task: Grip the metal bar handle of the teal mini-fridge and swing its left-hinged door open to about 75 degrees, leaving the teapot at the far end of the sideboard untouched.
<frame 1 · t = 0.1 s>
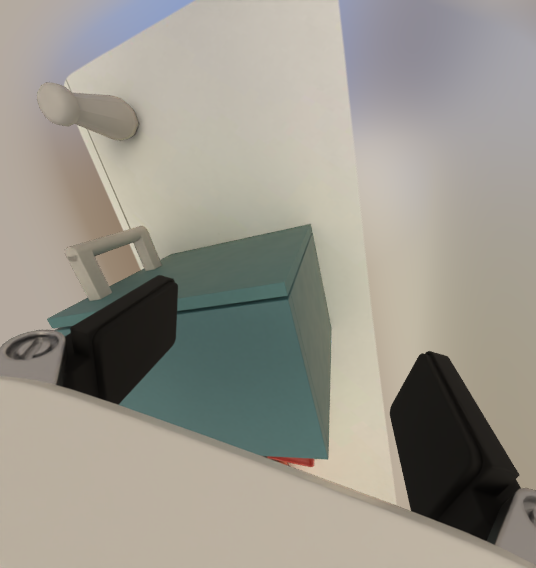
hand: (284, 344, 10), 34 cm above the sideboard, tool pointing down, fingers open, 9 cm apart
salt shaker: (127, 121, 42), on the sideboard
plant saucer: (276, 419, 61), on the sideboard
fridge door: (197, 243, 34), point 12 cm above the sideboard, hinge at 0.0°
fridge: (251, 294, 49), on the sideboard
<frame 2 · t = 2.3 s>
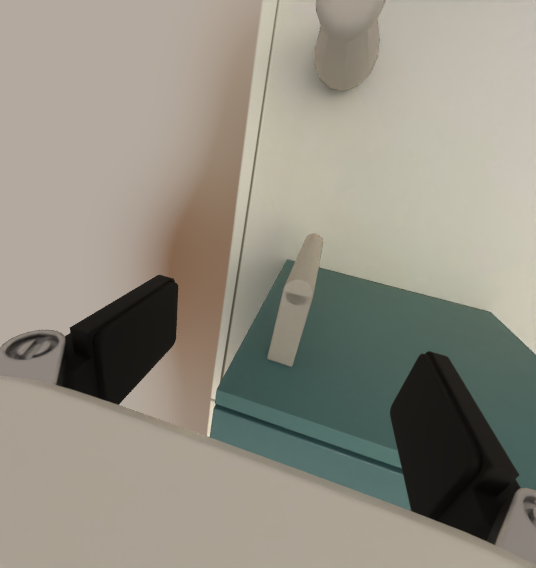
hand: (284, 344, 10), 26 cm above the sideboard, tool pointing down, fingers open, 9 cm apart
salt shaker: (345, 62, 27), on the sideboard
fridge door: (417, 312, 23), point 12 cm above the sideboard, hinge at 0.0°
fridge: (357, 345, 40), on the sideboard
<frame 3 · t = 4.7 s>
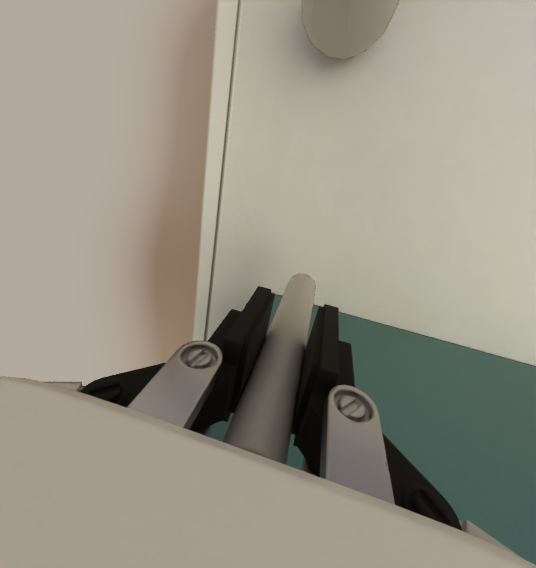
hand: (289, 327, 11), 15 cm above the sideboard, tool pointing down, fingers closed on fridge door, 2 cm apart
salt shaker: (347, 19, 18), on the sideboard
fridge door: (467, 410, 14), point 12 cm above the sideboard, hinge at 0.0°, touching gripper
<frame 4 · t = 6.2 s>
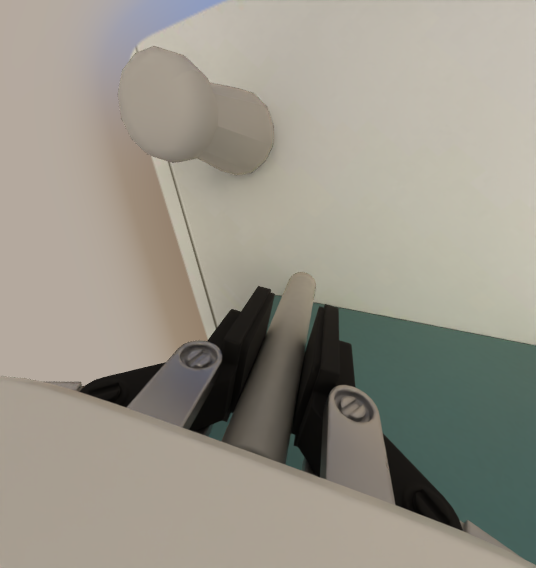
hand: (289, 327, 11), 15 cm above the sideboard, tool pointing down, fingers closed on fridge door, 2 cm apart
salt shaker: (247, 137, 23), on the sideboard
fridge door: (481, 398, 14), point 12 cm above the sideboard, hinge at 16.1°, touching gripper
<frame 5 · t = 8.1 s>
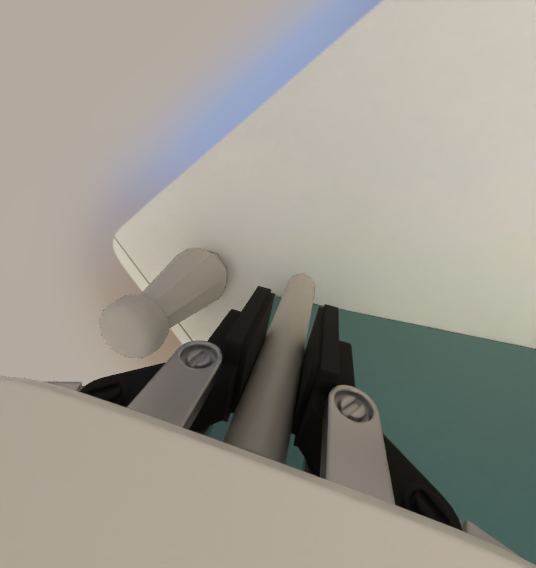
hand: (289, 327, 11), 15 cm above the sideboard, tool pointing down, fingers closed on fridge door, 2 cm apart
salt shaker: (209, 268, 29), on the sideboard
fridge door: (478, 401, 14), point 12 cm above the sideboard, hinge at 38.4°, touching gripper
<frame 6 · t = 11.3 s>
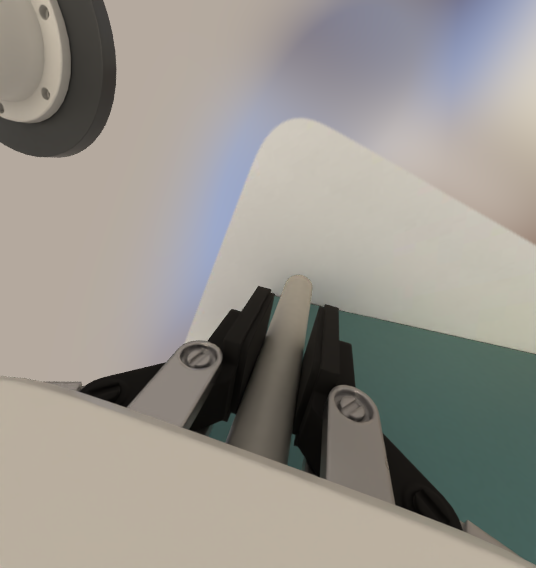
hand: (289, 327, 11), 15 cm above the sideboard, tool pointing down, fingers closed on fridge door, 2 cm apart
fridge door: (469, 403, 14), point 12 cm above the sideboard, hinge at 72.3°, touching gripper
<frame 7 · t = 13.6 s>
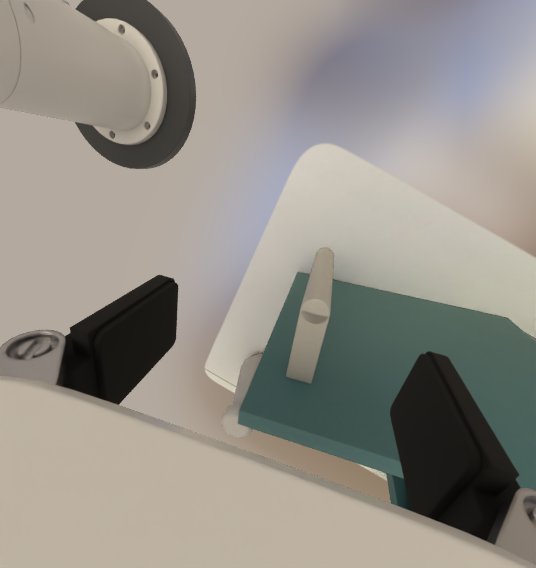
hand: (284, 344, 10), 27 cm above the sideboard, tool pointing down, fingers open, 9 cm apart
salt shaker: (262, 362, 45), on the sideboard
fridge door: (432, 323, 23), point 12 cm above the sideboard, hinge at 72.2°
fridge: (491, 420, 39), on the sideboard
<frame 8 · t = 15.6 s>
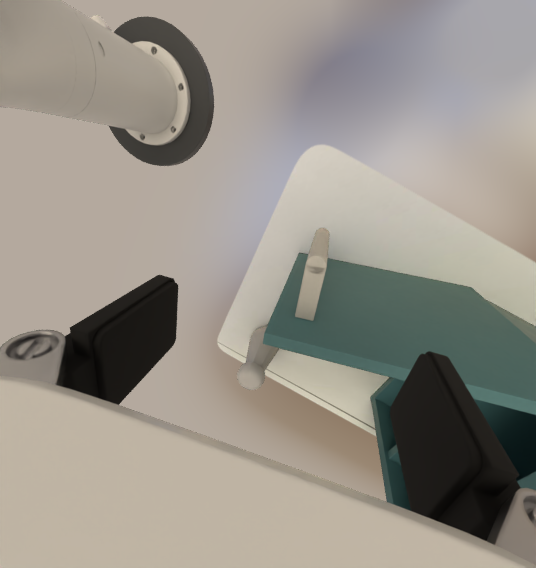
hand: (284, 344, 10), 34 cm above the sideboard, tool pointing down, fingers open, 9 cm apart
salt shaker: (268, 334, 52), on the sideboard
fridge door: (404, 283, 30), point 12 cm above the sideboard, hinge at 72.2°
fridge: (461, 376, 46), on the sideboard
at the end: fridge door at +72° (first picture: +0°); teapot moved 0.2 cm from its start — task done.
